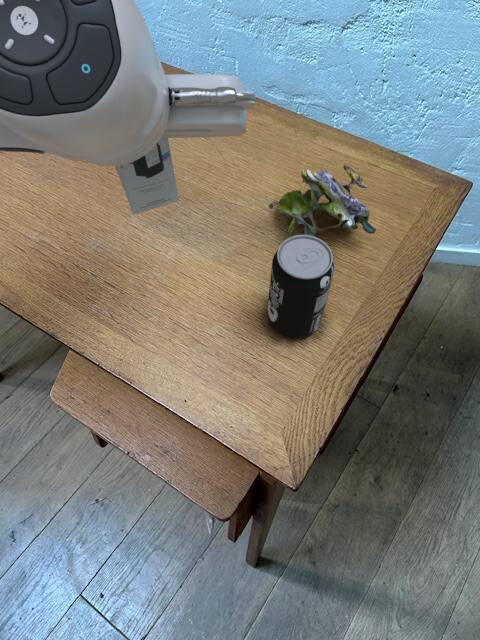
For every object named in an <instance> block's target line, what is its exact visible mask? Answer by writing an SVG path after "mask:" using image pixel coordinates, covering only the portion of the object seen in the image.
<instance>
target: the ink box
mask: <svg viewBox="0 0 480 640" xmlns="http://www.w3.org/2000/svg"><path fill="white" fill-rule="evenodd" d="M171 153H172V152H171V148H170V142H169V138H160V140H159V142H158V143H157V144H156V145H155V146H154V147H153V148H152V150H151V151H149V152H148V153H147V154H146V155H144V156H143V157H141V158H140V159H138V160H136V161H133V162H131V163H128V164H124V165H119V166H114V167H115V170H116V172H117V175H118V178H119V181H120V183H121V185H122V188H123V191H124V193H125V195H126V199H127V201H128V204H129V207H130V209H131V212H132V214H133V215H137V214H140V213H144V212H149V211H152V210H154V209H159V208H161V207H164V206H168V205H172V204H174V203H178V202H179V200H180V194H179V188H178V184H177V179H176V174H175V169H174V164H173V158H172V154H171Z"/></svg>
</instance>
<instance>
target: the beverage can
mask: <svg viewBox="0 0 480 640" xmlns="http://www.w3.org/2000/svg"><path fill="white" fill-rule="evenodd" d="M334 274H335V261H334V255H333V251H332V249H331V247H329V245H328V244H327V243H326V241H324V240H322V239H320V238H319V237H317V236H315V235H314V236H310V235H304V234H295V235H293V236H292V235H291V236H290V238H288V237H287V238H286V239H285V240H284V241H282V243H281V244H280V245H279V246H278V249H277V250H276V251H275V253H274V254H273V257H272V261H271V270H270V280H269V288H268V289H269V290H268V301H267V309H266V317H267V321H268V324H269V326H270V327H271V329H273V331H274V332H276V333H277V334H278V335H280V336H282V337H284V338H288V339H295V340H299V339H304V338H308V337H310V336H312V335H313V334H315V332H316V331H318V329H319V328H320V326H321V323H322V321H323V316H324V313H325V308H326V305H327V301H328V298H329V294H330V290H331V285H332V282H333V278H334Z"/></svg>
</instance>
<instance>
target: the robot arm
mask: <svg viewBox="0 0 480 640" xmlns="http://www.w3.org/2000/svg"><path fill="white" fill-rule="evenodd" d="M159 57H160V56H159V55H158V52H157V50H156V46H155V43H154V40H153V37H152V35H151V32H150V30H149V27H148V25H147V23H146V21H145V19H144V17H143V15H142V13H141V12H140V9H139V8H138V6H137V5H136V3H135V1H134V0H0V152H6V153H7V152H9V153H10V152H13V153H33V154H39V155H40V154H41V155H43V154H50V155H55V156H58V157H61V158H64V159H67V160H70V161H74V162H77V161H82V162H86V163H89V164H93V165H96V166H103V167H115V166H119V165H124V164H128V163H131V162H133V161H136V160H138V159H140V158H141V157H143V156H144V155H146V154H147V153H148V152H149V151H151V150H152V148H153V147H154V146H155V145H156V144H157V143H158V142H159V140H160V138H168V139H183V138H184V139H185V138H189V139H191V138H193V139H194V138H232V137H240V136H243V135H245V134H246V132H247V110H251V109H253V108H254V107H255V103H256V101H257V97H256V94H255V92H254V91H252V90H246V87H245V84H244V83H243V81H242V80H241V79H240V78H239V77H237V76H234V75H231V74H224V73H223V74H222V73H185V74H184V73H183V74H181V73H179V74H166V73H165V69H164V67H163V64H162V61H161V59H160V58H159Z"/></svg>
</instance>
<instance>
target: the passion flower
mask: <svg viewBox="0 0 480 640" xmlns="http://www.w3.org/2000/svg"><path fill="white" fill-rule="evenodd" d="M342 169H343V170H344V171H345V172H346V173H347V175H348V176H349V178H350V179H351V180H350V181H349V184H343V182H339V181H337V179H336V178H335V177H334V176H333V175H332V174H331V173H329V172H328V170H327V169H322V168H320V170H321V171H314V172H313V173H312V172H311V170H310V169H308V168H307V169H306V173H305V170H304V169H301V170H300V175H301V178H302V181H301V183H305V184H306V185H308V186H309V189H306V191H305V192H303V193H302V190H300V189H295V190H291V191H287V192H286V193H285V194H283V195H282V197H281V198H280V199H279V200H273V201H272V202H271V203H269V204H268V208H269V209H270V210H273V209H274V208H275V209H276V210H278V211H279V212H280V213H281V214H284V215H286V216H289V217H291V218H293V219H292V220H291V222H290V224H289V226H288V228H287V233H286V237H287V239H288V238H290V237H292V234H293V231H294V230H295V229H296V227H297V226H299V225H300V224H301V225H304V229H303V235H310V236H314V237H315V236H318V235H319V234H320V233H321V232H324V231H327V230H331V229H337V228H341V227H342V228H343V229H346V228H348V229H352V230H357V229H358V227H359V226H358V224H360V225H361V226H362V228H363V231H364V232H366V233H367V234H371V235H372V234H373V235H374V234H375V233H376V232H377V228H376V227H374V226H373V225H372V224H371V223H370V222H369V219H370V214H371V212H370V210H368V209H366V206H365V205H364V204H362V203H361V202H360V201H359V200H358V199H357V197H353V195H352V194H351V189H352V187H353V186H354V185H357V186H358V187H359V188H361V189H367V188H368V185H366V184H365V183H364V181H363V178H362V177H361V176H360V174H359V173H358V172H356V171H355V170H354V169H353V168H352V167H350V166H348V165H346V164H344V165H343V166H342ZM322 196H324V197H325V198H326V199H327V200H328V201H327V202H319V201H320V199H321V198H322ZM317 210H319V211H323V212H321V215H320V216H319V217H318V218H317V219H315V218H314V216H313V214H314V211H317ZM325 213H327V214H328V215H330V216H331V217H332V218H336V219H337V220H338V224H335V225H329V226H328V227H327V226H326V227H323V228H319V227H318V224H319V222H320V220H321V219H322V217H323V215H324V214H325ZM305 218H308V219H309V220H310V221H311V224H312V225H311V224H309V223H307V222H306V221H305V220H304V219H305Z"/></svg>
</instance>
